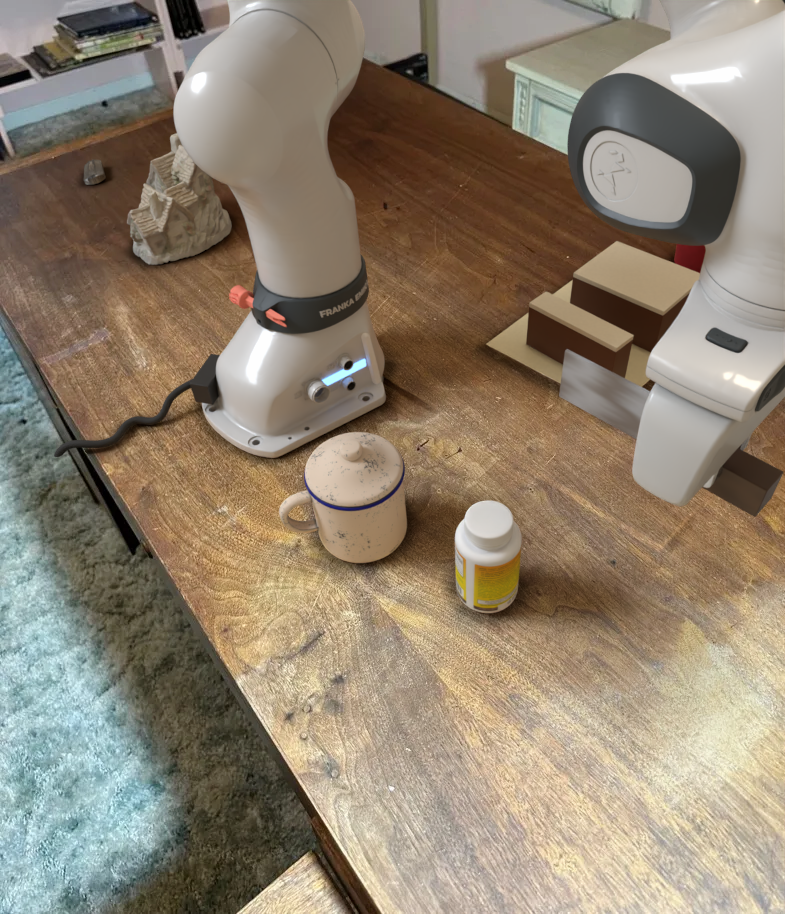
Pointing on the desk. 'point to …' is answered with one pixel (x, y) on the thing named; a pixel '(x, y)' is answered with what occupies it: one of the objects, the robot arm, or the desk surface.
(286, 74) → the robot arm
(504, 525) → the supplement bottle
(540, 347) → the tan-topped brown brick
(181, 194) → the ceramic cottage
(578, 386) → the knife
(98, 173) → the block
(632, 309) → the cake
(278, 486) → the desk surface
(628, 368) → the platter
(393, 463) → the teacup with lid
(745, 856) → the desk surface
